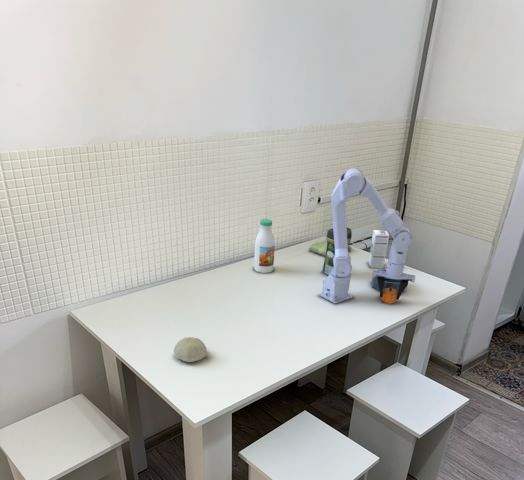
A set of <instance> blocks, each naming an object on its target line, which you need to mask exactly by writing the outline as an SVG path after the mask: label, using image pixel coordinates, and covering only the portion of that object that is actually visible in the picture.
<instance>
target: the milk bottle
mask: <svg viewBox="0 0 524 480" xmlns="http://www.w3.org/2000/svg"><path fill="white" fill-rule="evenodd" d="M259 227H260V228H259V231H258V233H257V235H256V237H255V241H254V258H253V261H254V262H253V269H254V271H255V272H258V273H261V274H268V273H271V272H273V270H274V265H275V264H274V263H275V248H276V247H275V246H276V243H275V242H276V241H275V236H274V234H273V231H272V227H273V220H272V219H271V218H262V219H260V220H259Z"/></svg>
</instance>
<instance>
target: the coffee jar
mask: <svg viewBox="0 0 524 480" xmlns="http://www.w3.org/2000/svg"><path fill="white" fill-rule="evenodd" d="M352 233H353V231H352V228H349V227H347V243H348V252H349V251H350V250H349V246H350V244H351V241H352V235H353V234H352ZM326 239H327V249H326V255H325V256H324V259H323V266H322V273H323V274H324V275H325V276H329V275H330V273H331V270H332V269H333V267H334V263H333V257H334V255H335V244H334V230H333V228H329V229H327V233H326V238H325V240H326Z"/></svg>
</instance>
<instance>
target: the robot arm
mask: <svg viewBox="0 0 524 480" xmlns="http://www.w3.org/2000/svg"><path fill="white" fill-rule="evenodd" d="M356 194H359V195H360V196H362V197H366V198H367V199H368V200H369V202H370V203H371V204H372V205H373V207H374V208H375V209H376V210H377V212H378V214H379V218H378V219H379V220H378V221H379V223H381V225H382V226H383V228H384V229H385V231H387V232H388V234H389V236H391V238H392V242H391V247H390V248H389V249H390V250H389V255H388V261H387V264H386V268H385V269H386V270H382V269H380V270H381V271H378V270H379V269H376V270H375V269H372V274H371V275H372V276H371V278H372V277H377V281H378V285H379V289H380V291H379V298H380V299H381V298H382V292H383V286H384V280H385V278H388V279H396V280H400V285H399V289H398V295H397V300H396V301H398V300H400V297H401V295H402V293H404V292H405V291H404V289H405V288H406V289H407V287H408V286H409V282H410V283H415V282H416V275H415V274H410V273H406V272H404V271H405V270H404V269H405V265H406V260H407V255H408V249H409V246H410V245H411V244H412V243H413V239H412V233H411V231H410V230H409V227H408V224H407V223H406V222H404V221H403V219H402V218H401V217H400V215H401V214H400V211H398V210H395V208H390V207H389V206H387V204H386V202H385V200H384V199H383V198H382V196H381V195H380V193H379V191H378V190H377V189H376V187H375V185H374V184H373V183H372V182H371V180H370V179H369V178H368V177H367V176H366V175H365V174H364V175H363V171H362V170H361V169H360V168H358V167H355V166H353V167H352V166H351V167H349V168H347V169H346V170H345V171H344V172H343V173H342V174H341V175H340V176H339V180H338V181H337V183H336V185H335V187H334V188H333V190H332V193H331V195H330V201H331V215H332V216H331V217H332V229H333V230H334V244H335V255H334V257H333V263H334V267H333V269H332V270H331V273H330V275H329V276H328V275H326V277H324V278H323V281H322V288H321V293H320V294H319V297H321V298H323V299H325V300H327V301H330V302H331V303H333V304H338V303H341V302H344V301H347V300H349V299H352V298H353V297H354V296H353V295H351V294H349V291H350V284H351V278H352V271H353V265H352V258H351V255H350V253H349V251H348V243H347V228H348V226H347V211H346V210H347V209H346V202H348V201H349V200H350V199H351V198H352V196H355V195H356ZM403 291H404V292H403Z"/></svg>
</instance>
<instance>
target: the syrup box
mask: <svg viewBox="0 0 524 480" xmlns="http://www.w3.org/2000/svg"><path fill="white" fill-rule="evenodd" d="M389 239H390V234H389V233H388V232H387V230H383V229H373V232H372V237H371V243H370V249H369V256H368V265H369V267H370V268H371V269H385V268H384V267H385V261H386V257H387V251H388V245H389Z"/></svg>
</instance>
